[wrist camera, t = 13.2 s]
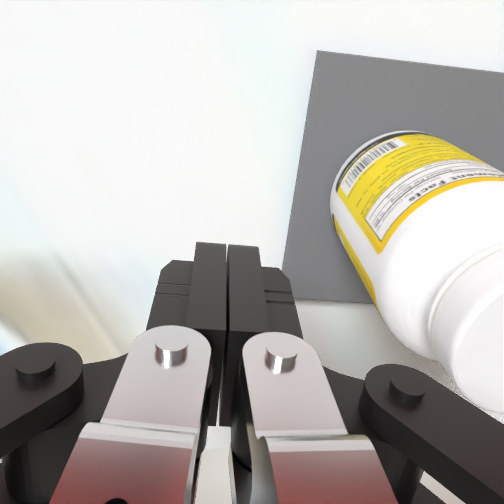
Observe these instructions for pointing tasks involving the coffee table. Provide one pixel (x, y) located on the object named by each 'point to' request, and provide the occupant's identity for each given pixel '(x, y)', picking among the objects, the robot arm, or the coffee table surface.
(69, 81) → the coffee table surface
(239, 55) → the coffee table surface
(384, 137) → the supplement bottle
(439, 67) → the rubber mat
